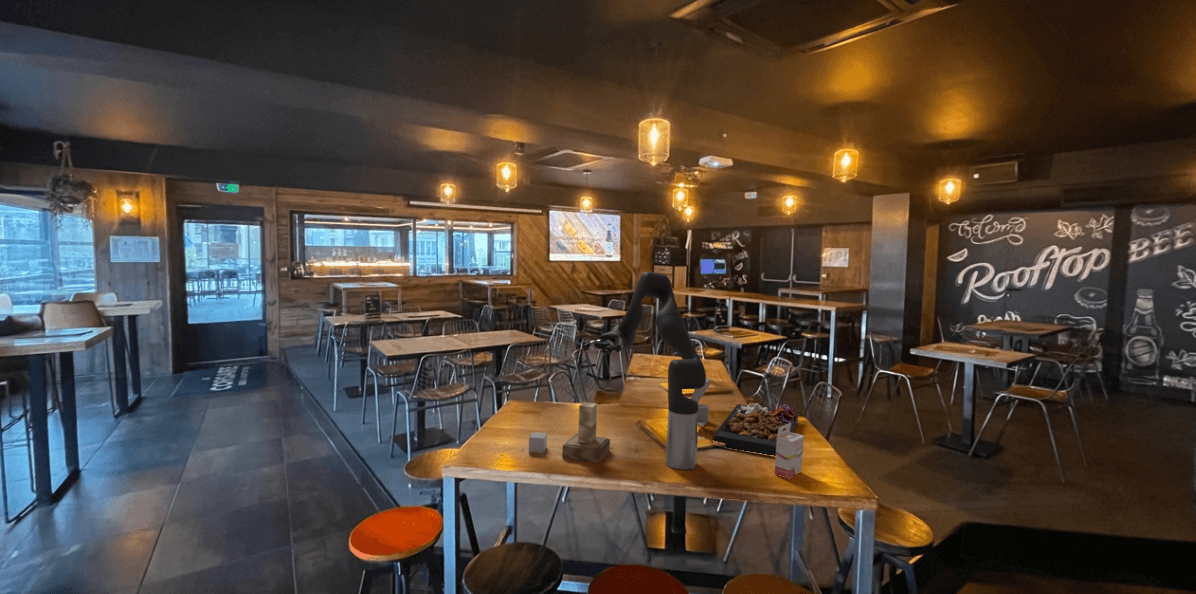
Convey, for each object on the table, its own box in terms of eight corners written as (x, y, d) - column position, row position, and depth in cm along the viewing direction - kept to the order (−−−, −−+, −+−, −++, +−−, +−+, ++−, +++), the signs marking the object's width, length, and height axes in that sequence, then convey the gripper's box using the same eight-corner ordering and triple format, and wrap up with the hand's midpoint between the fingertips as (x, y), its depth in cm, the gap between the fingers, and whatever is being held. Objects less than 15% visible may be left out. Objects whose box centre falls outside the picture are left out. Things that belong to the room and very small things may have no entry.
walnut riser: (609, 450, 172) (610, 437, 171) (598, 463, 160) (598, 450, 160) (575, 445, 176) (576, 432, 175) (562, 457, 164) (562, 444, 164)
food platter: (736, 414, 220) (737, 390, 220) (797, 424, 210) (799, 399, 209) (712, 447, 180) (713, 418, 179) (787, 461, 169) (788, 430, 168)
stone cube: (546, 447, 173) (547, 433, 172) (543, 453, 168) (544, 438, 167) (531, 446, 173) (532, 432, 173) (528, 452, 168) (529, 437, 168)
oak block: (595, 439, 169) (597, 403, 168) (591, 444, 165) (592, 407, 164) (583, 437, 171) (584, 402, 170) (578, 442, 166) (579, 405, 165)
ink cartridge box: (789, 480, 153) (792, 431, 152) (773, 475, 156) (776, 427, 155) (802, 472, 159) (805, 426, 158) (786, 467, 162) (789, 422, 161)
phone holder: (685, 416, 213) (687, 373, 212) (710, 420, 208) (712, 376, 207) (671, 428, 197) (673, 381, 196) (697, 433, 193) (699, 385, 191)
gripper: (592, 331, 198) (577, 336, 183) (628, 334, 194) (616, 339, 178) (592, 350, 199) (576, 357, 183) (627, 353, 194) (615, 361, 179)
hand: (596, 348), depth 181 cm, fingers open, 8 cm apart
